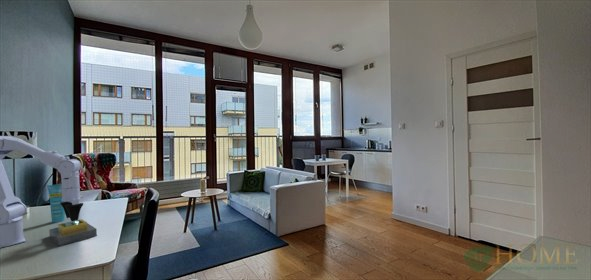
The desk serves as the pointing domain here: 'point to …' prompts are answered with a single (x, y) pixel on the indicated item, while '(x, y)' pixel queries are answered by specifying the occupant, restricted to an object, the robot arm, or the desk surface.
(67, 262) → the desk surface
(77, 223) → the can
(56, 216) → the tube
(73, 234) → the grey and yellow block
